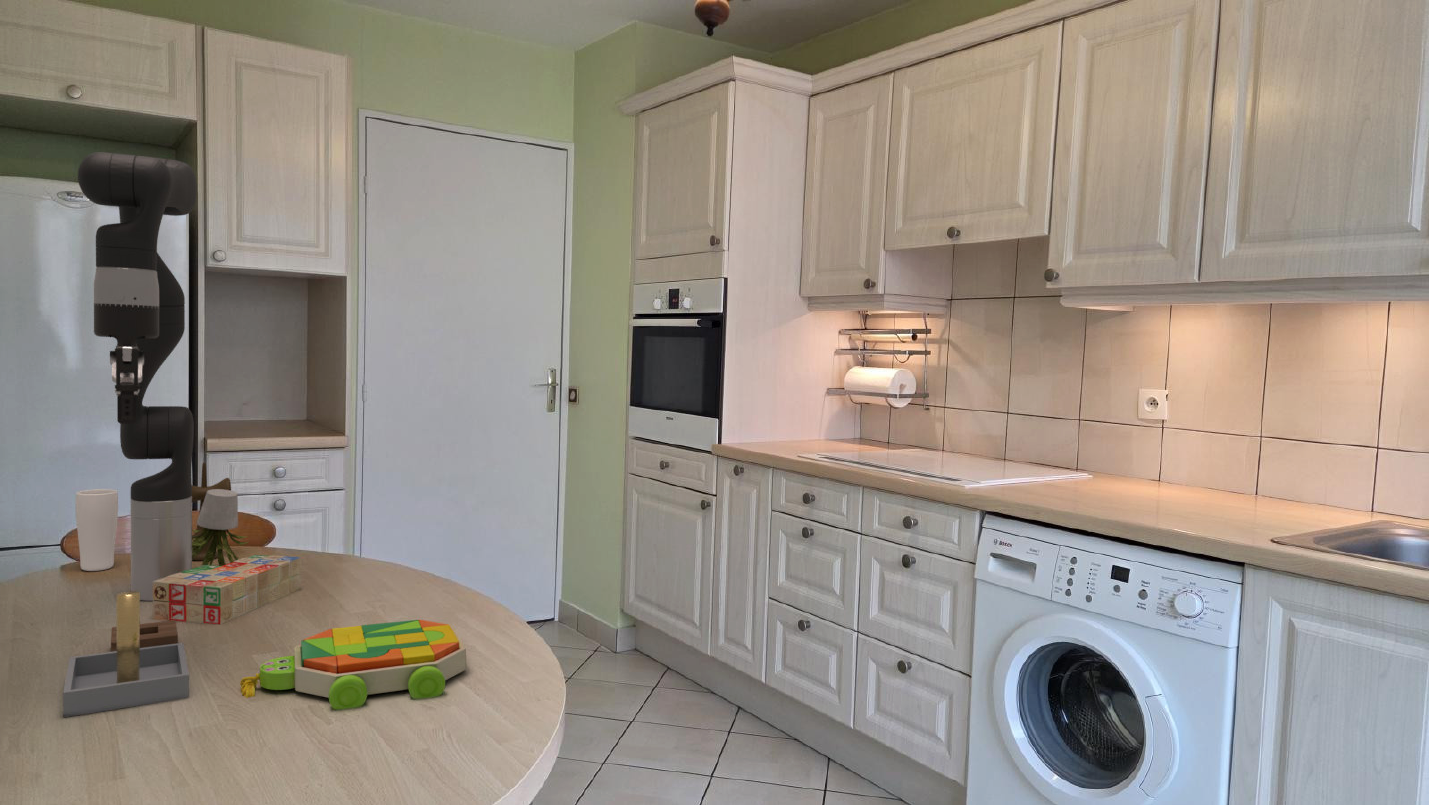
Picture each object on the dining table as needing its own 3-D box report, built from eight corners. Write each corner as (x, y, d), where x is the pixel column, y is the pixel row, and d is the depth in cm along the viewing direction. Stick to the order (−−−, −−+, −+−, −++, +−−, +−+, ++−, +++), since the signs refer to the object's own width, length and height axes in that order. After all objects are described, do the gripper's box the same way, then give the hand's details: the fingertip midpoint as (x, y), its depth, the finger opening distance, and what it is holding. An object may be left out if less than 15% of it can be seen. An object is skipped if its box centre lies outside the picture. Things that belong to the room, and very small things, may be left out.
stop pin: (116, 683, 118) (116, 592, 117) (139, 680, 119) (139, 590, 119) (116, 689, 116) (116, 597, 115) (139, 686, 117) (139, 595, 117)
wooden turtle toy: (243, 668, 127) (243, 629, 127) (448, 646, 139) (449, 611, 139) (235, 729, 108) (235, 683, 107) (475, 698, 120) (476, 657, 119)
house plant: (266, 508, 169) (253, 591, 171) (273, 489, 182) (260, 567, 183) (180, 499, 164) (166, 585, 165) (193, 481, 177) (180, 561, 178)
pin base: (111, 647, 133) (111, 627, 132) (175, 639, 137) (175, 620, 137) (110, 664, 126) (110, 643, 126) (177, 655, 130) (177, 635, 130)
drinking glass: (89, 564, 178) (88, 488, 177) (125, 564, 179) (125, 489, 178) (67, 572, 172) (67, 494, 171) (105, 573, 172) (105, 495, 171)
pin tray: (69, 679, 120) (69, 657, 120) (183, 663, 127) (183, 642, 127) (63, 717, 108) (63, 693, 108) (188, 698, 115) (188, 674, 115)
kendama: (231, 560, 185) (232, 463, 184) (177, 565, 180) (177, 465, 179) (229, 554, 190) (229, 459, 189) (175, 558, 185) (175, 461, 184)
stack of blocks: (301, 590, 165) (240, 585, 167) (301, 556, 165) (240, 552, 167) (219, 625, 144) (150, 619, 146) (219, 587, 144) (150, 581, 146)
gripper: (160, 303, 120) (160, 425, 121) (157, 305, 132) (157, 416, 133) (91, 300, 116) (92, 426, 117) (95, 302, 128) (95, 416, 129)
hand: (127, 420), depth 125 cm, fingers open, 8 cm apart
